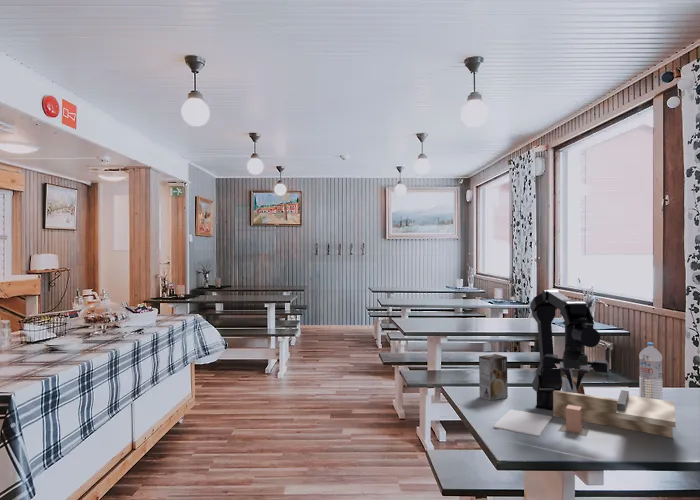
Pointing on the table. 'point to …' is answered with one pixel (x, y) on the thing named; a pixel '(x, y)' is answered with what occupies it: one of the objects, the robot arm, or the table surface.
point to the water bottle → (651, 373)
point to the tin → (567, 387)
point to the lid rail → (602, 412)
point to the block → (574, 418)
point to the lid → (645, 410)
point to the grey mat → (523, 422)
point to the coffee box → (493, 377)
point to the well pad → (582, 433)
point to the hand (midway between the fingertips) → (574, 390)
